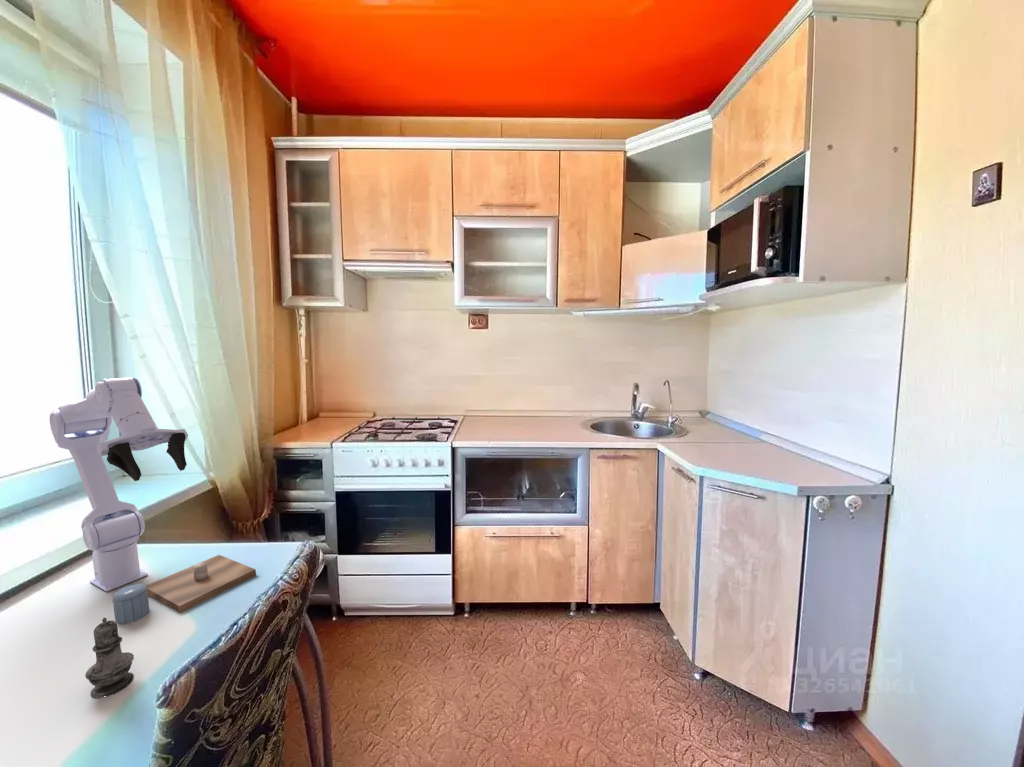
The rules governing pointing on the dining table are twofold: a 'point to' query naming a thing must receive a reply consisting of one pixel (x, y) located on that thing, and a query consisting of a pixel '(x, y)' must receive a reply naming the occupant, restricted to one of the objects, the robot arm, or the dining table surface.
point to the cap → (130, 603)
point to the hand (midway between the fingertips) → (161, 472)
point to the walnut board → (199, 582)
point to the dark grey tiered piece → (109, 662)
